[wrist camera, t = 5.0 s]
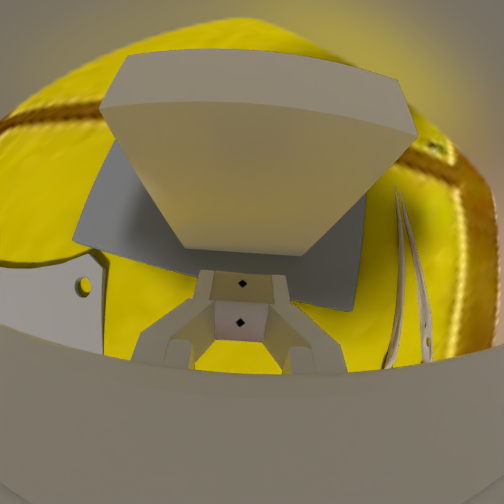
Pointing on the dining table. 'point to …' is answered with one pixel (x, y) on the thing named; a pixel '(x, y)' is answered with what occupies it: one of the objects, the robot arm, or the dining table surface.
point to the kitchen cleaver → (56, 302)
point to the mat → (193, 260)
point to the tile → (255, 142)
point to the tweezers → (422, 297)
